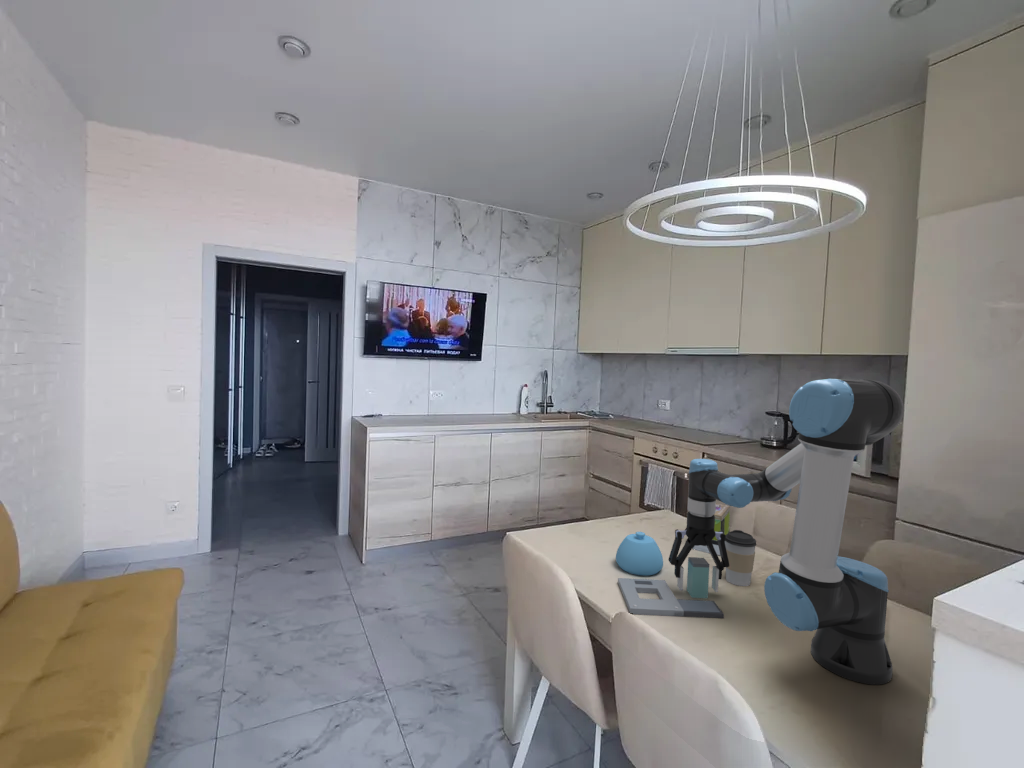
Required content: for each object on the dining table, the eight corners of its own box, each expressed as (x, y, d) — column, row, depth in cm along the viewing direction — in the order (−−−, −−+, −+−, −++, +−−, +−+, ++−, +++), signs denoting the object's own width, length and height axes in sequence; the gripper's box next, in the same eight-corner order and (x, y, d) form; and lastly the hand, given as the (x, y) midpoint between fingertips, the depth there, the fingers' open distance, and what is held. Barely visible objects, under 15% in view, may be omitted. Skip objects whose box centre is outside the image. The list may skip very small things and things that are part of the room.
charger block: (707, 598, 138) (709, 564, 137) (691, 597, 138) (693, 563, 137) (702, 590, 142) (703, 557, 142) (686, 590, 142) (688, 557, 142)
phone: (723, 618, 127) (723, 613, 127) (674, 615, 127) (674, 611, 127) (713, 604, 134) (713, 600, 134) (666, 602, 134) (666, 598, 134)
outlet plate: (683, 616, 127) (683, 610, 127) (630, 613, 128) (630, 608, 128) (664, 584, 145) (664, 579, 145) (617, 582, 146) (618, 577, 146)
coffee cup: (758, 589, 144) (760, 540, 143) (725, 585, 146) (728, 537, 145) (749, 576, 153) (752, 530, 152) (719, 573, 155) (721, 527, 154)
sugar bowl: (645, 582, 147) (647, 545, 146) (606, 565, 158) (607, 531, 158) (671, 569, 157) (673, 534, 156) (632, 554, 168) (634, 521, 167)
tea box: (701, 537, 186) (703, 500, 186) (729, 544, 180) (731, 505, 180) (690, 549, 174) (692, 509, 173) (720, 556, 168) (722, 515, 168)
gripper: (734, 510, 142) (730, 584, 143) (659, 507, 143) (655, 581, 144) (745, 518, 135) (741, 596, 136) (666, 515, 135) (662, 593, 137)
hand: (697, 588), depth 140 cm, fingers open, 9 cm apart
